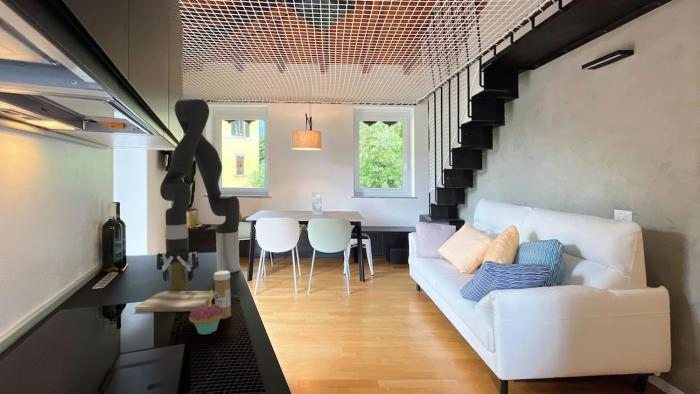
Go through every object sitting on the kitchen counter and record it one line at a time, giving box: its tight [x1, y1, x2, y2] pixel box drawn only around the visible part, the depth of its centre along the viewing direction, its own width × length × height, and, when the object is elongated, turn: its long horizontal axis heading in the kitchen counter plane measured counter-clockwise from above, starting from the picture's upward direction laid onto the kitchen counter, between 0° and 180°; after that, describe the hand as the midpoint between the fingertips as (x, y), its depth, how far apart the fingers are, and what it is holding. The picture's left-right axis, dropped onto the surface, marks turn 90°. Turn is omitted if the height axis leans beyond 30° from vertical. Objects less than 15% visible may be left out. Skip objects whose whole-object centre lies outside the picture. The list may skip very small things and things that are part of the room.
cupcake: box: [188, 288, 223, 335], centre depth 99 cm, size 9×8×12 cm
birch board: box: [134, 290, 215, 313], centre depth 122 cm, size 15×20×2 cm
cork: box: [169, 262, 189, 291], centre depth 135 cm, size 6×6×11 cm
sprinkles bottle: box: [213, 271, 232, 320], centre depth 109 cm, size 5×5×13 cm
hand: (178, 280), depth 134 cm, fingers open, 8 cm apart
